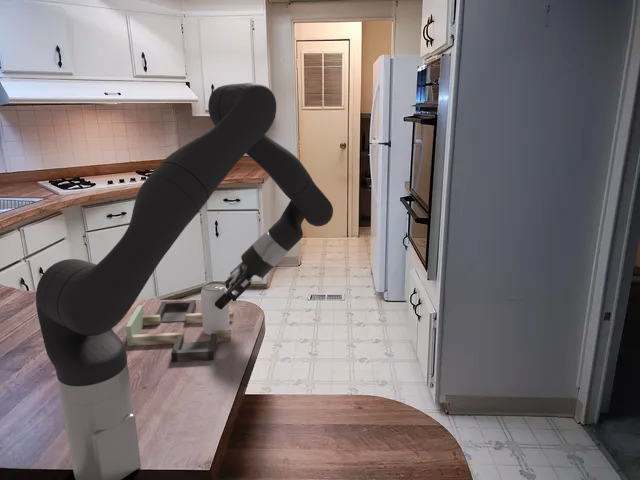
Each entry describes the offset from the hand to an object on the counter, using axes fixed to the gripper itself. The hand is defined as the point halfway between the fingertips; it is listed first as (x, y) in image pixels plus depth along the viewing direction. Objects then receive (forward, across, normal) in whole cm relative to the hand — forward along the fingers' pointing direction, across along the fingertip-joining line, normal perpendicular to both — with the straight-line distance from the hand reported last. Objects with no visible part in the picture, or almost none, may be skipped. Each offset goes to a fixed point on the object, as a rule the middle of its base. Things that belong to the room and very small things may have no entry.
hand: (219, 299), depth 111 cm
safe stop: (+20, 0, -8) cm, 22 cm away
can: (+7, 0, +5) cm, 9 cm away
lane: (+12, 0, 0) cm, 12 cm away
